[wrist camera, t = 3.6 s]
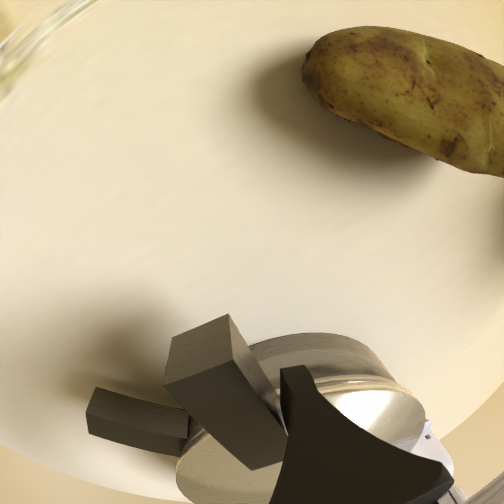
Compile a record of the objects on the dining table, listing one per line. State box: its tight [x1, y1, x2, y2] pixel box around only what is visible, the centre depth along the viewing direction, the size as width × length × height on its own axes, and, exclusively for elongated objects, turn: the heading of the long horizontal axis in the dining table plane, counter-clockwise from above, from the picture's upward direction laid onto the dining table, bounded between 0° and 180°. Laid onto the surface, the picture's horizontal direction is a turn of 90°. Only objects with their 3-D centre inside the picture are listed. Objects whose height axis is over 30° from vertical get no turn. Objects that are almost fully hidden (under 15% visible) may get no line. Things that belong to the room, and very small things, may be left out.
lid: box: [163, 314, 425, 504], centre depth 13 cm, size 22×17×3 cm
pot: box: [86, 333, 401, 457], centre depth 17 cm, size 22×16×5 cm
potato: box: [302, 26, 504, 178], centre depth 10 cm, size 8×13×8 cm, turn 65°
